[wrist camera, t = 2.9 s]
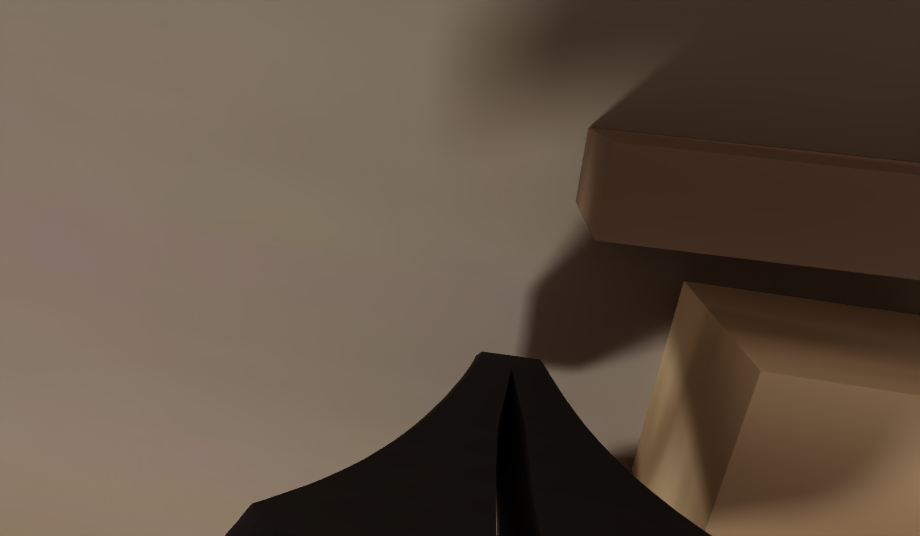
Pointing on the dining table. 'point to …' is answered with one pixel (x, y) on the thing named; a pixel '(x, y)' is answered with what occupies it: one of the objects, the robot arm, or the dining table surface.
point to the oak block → (786, 417)
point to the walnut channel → (752, 202)
